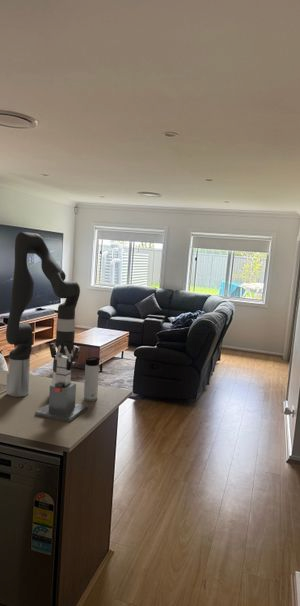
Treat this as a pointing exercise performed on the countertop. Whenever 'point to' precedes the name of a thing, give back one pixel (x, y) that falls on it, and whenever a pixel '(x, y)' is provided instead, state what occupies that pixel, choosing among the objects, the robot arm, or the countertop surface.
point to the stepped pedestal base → (62, 403)
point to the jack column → (63, 371)
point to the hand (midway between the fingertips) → (63, 368)
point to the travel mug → (91, 379)
